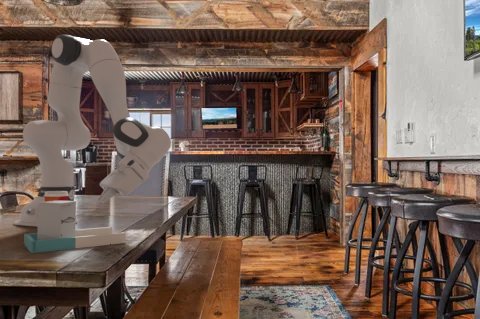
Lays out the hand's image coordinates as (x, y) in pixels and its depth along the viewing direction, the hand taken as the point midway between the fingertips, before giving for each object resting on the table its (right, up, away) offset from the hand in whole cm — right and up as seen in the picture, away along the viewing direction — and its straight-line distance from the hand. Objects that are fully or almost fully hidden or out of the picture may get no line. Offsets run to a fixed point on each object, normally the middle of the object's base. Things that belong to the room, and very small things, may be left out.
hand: (100, 201), depth 123 cm
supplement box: (-10, -12, -7) cm, 17 cm away
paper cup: (-18, -12, +11) cm, 24 cm away
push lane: (-5, -12, -4) cm, 14 cm away
